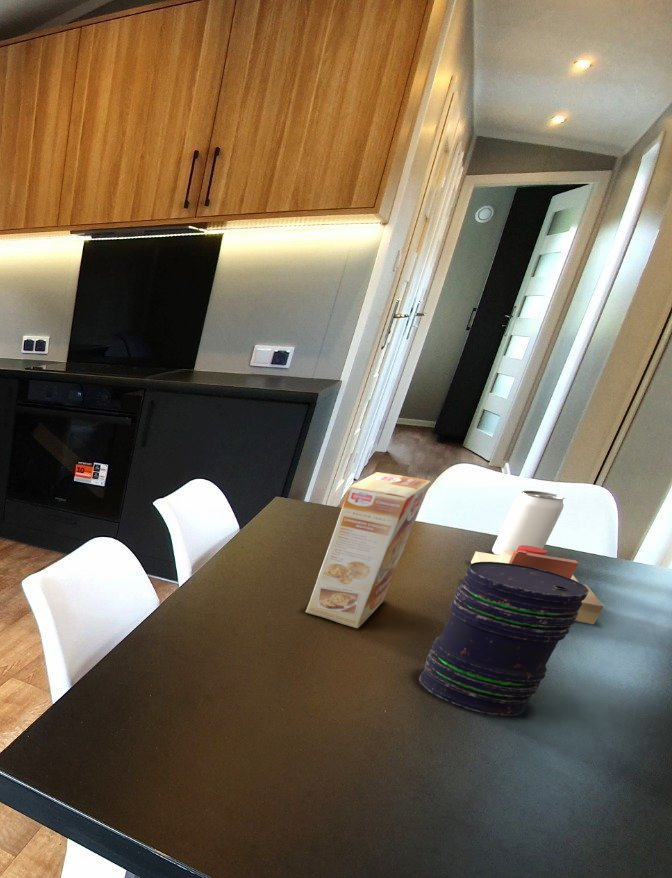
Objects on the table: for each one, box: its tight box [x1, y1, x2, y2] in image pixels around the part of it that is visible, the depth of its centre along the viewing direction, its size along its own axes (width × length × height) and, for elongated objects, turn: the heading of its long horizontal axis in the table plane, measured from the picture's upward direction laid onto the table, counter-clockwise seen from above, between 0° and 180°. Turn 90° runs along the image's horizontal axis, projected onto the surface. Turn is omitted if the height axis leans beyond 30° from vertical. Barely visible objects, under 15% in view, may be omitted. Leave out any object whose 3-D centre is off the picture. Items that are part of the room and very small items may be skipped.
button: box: [516, 545, 548, 556], centre depth 108 cm, size 4×4×2 cm
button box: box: [470, 550, 579, 582], centre depth 109 cm, size 12×9×4 cm
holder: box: [509, 550, 579, 579], centre depth 98 cm, size 7×2×5 cm, turn 54°
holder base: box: [465, 573, 604, 625], centre depth 100 cm, size 14×11×3 cm
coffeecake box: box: [305, 471, 432, 629], centre depth 93 cm, size 15×7×20 cm, turn 131°
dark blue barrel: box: [418, 562, 589, 717], centre depth 73 cm, size 10×10×15 cm
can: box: [491, 490, 565, 556], centre depth 117 cm, size 6×6×12 cm
